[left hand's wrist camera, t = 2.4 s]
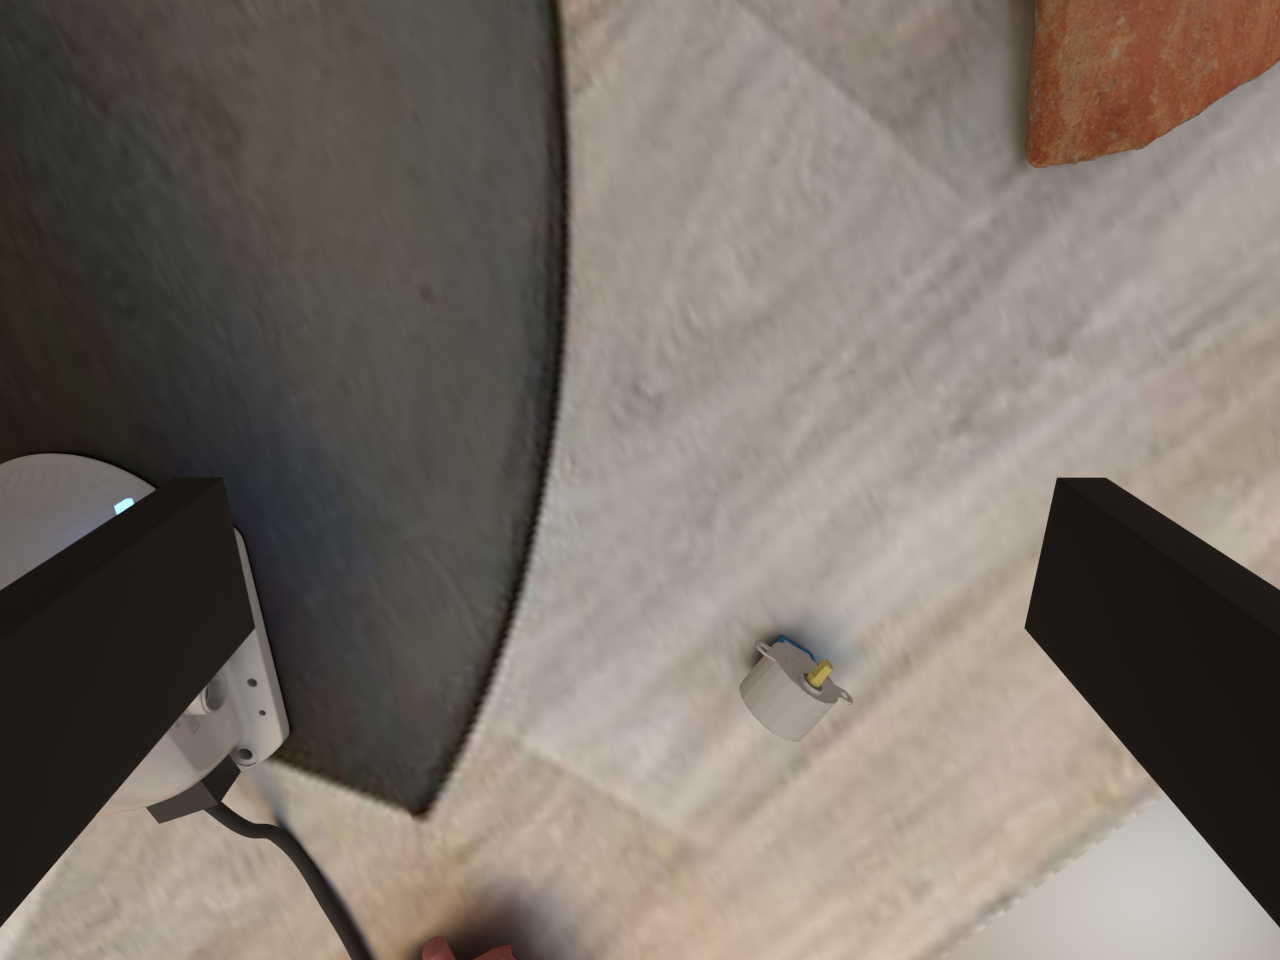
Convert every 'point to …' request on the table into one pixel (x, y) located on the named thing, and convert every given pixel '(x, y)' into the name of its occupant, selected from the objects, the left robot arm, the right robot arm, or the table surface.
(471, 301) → the table surface
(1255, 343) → the table surface
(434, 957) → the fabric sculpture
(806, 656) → the electric motor
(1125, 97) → the ceramic shard
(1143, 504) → the left robot arm
